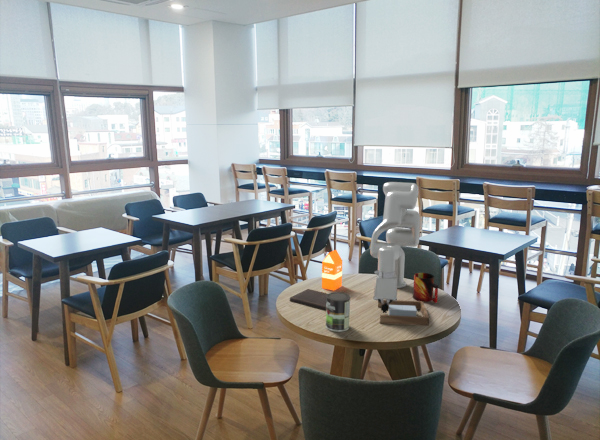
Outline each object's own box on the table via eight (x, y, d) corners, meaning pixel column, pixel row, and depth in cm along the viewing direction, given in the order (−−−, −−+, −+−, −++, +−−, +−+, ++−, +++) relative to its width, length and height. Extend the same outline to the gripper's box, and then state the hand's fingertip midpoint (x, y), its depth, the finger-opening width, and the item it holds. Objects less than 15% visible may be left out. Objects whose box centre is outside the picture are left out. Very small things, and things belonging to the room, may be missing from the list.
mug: (436, 305, 228) (437, 281, 226) (409, 299, 236) (411, 276, 234) (443, 299, 236) (445, 276, 233) (417, 293, 244) (418, 271, 241)
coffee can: (334, 333, 196) (334, 302, 194) (321, 324, 205) (321, 294, 202) (354, 328, 201) (355, 297, 199) (340, 320, 210) (341, 290, 207)
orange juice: (342, 286, 255) (342, 250, 251) (334, 290, 248) (334, 254, 244) (329, 283, 259) (329, 248, 255) (321, 288, 252) (321, 252, 248)
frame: (377, 306, 226) (378, 299, 226) (422, 308, 224) (422, 301, 223) (380, 323, 207) (380, 315, 206) (428, 325, 205) (429, 318, 204)
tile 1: (388, 312, 219) (388, 304, 218) (401, 313, 219) (401, 305, 218) (389, 317, 213) (389, 309, 213) (402, 318, 213) (403, 310, 212)
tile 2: (401, 313, 219) (402, 305, 218) (414, 313, 218) (415, 305, 217) (402, 318, 213) (403, 310, 212) (416, 319, 212) (416, 310, 211)
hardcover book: (308, 293, 246) (308, 288, 246) (346, 302, 233) (346, 298, 232) (289, 301, 233) (289, 297, 233) (328, 312, 220) (328, 308, 220)
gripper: (369, 275, 210) (368, 314, 213) (403, 277, 208) (401, 316, 212) (369, 270, 217) (367, 308, 221) (402, 272, 215) (400, 309, 219)
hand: (384, 312), depth 216 cm, fingers closed
